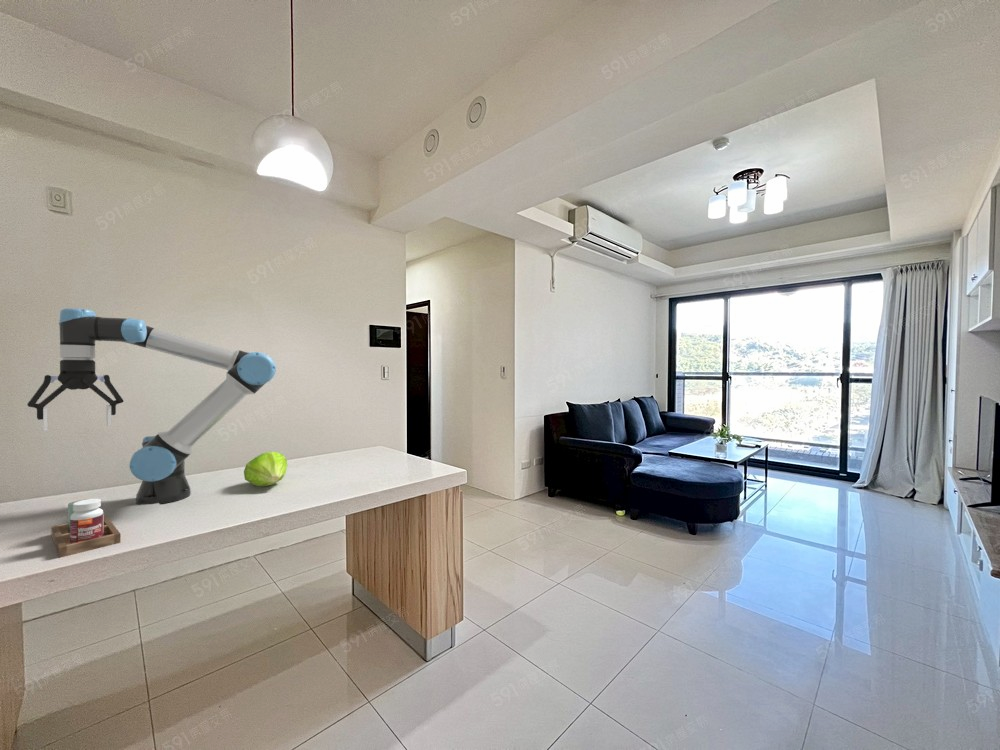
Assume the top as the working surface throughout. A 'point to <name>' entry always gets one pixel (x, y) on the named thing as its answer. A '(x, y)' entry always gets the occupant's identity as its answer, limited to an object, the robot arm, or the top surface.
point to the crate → (66, 549)
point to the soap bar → (71, 512)
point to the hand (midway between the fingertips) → (78, 428)
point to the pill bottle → (86, 521)
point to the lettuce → (266, 469)
